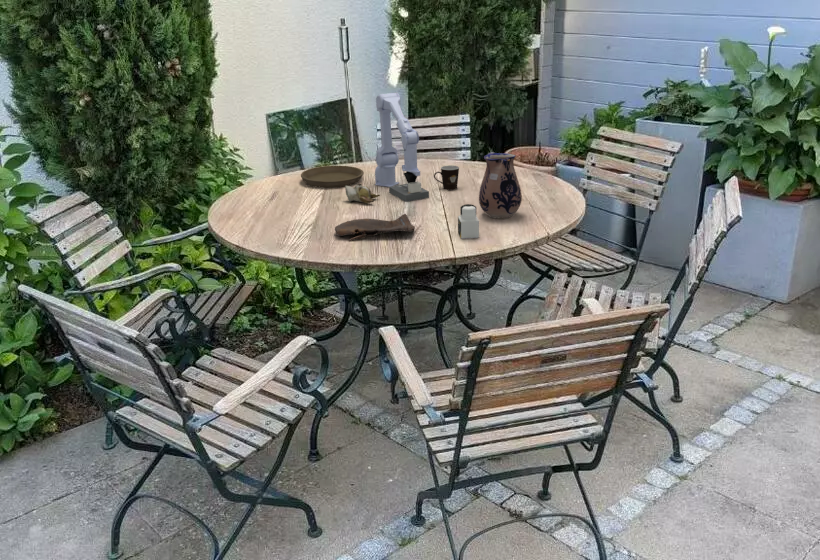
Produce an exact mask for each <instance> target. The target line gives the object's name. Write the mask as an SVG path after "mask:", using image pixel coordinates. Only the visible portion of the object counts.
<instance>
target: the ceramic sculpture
mask: <svg viewBox="0 0 820 560" xmlns="http://www.w3.org/2000/svg"><path fill="white" fill-rule="evenodd" d="M344 189H345V195H346V197H347V200H348V202H350V203H351V202H353V201H356V202H359V203H365V204H370V203H374V201H375V200H374V199H376V198H379V197H380V196H381V194H379V193H378V194H375V193H373V192H372V191H371V189H370V188H369V187H368V186H366V185H362V183H357V184H356V185H354V186H351V185H350V186H345V187H344Z"/></svg>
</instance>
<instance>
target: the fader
mask: <svg viewBox="0 0 820 560" xmlns="http://www.w3.org/2000/svg"><path fill="white" fill-rule="evenodd" d="M407 184H408V192H410V193H415V192H421V188H422V182H421V181H419V180H418V181H417V180H416V181H415V182H411V183H407Z"/></svg>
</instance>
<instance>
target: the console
mask: <svg viewBox="0 0 820 560" xmlns="http://www.w3.org/2000/svg"><path fill="white" fill-rule="evenodd" d="M388 193H389V194H390V195H392V196H394V197H395V198H397V199H400V200H401V201H402V202H405V203H408V202H413V201H418V200H424V199H425V200H426V199H429V198H430V191H429V190H427V189H425V188H423V187H421V192H415V193H410V192H408V183H404V184H397V185H394V186H390V187H388Z"/></svg>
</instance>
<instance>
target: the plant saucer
mask: <svg viewBox="0 0 820 560" xmlns="http://www.w3.org/2000/svg"><path fill="white" fill-rule="evenodd" d="M363 175H364V170H362V168H358V167H355V166H351V165H325V166H324V165H321V166H316V167H312V168H309V169H306V170H304V171H302V172H301V174H300V177H301V179H302V181H303V182H305V183H306V184H307V186H310V187H314V188H317V189H318V188H321V189H335V188H337V189H338V188H345V186H350V187H351V186H352V185H355V184H358V182H359V181H360V180H361V179H362V178H363Z"/></svg>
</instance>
